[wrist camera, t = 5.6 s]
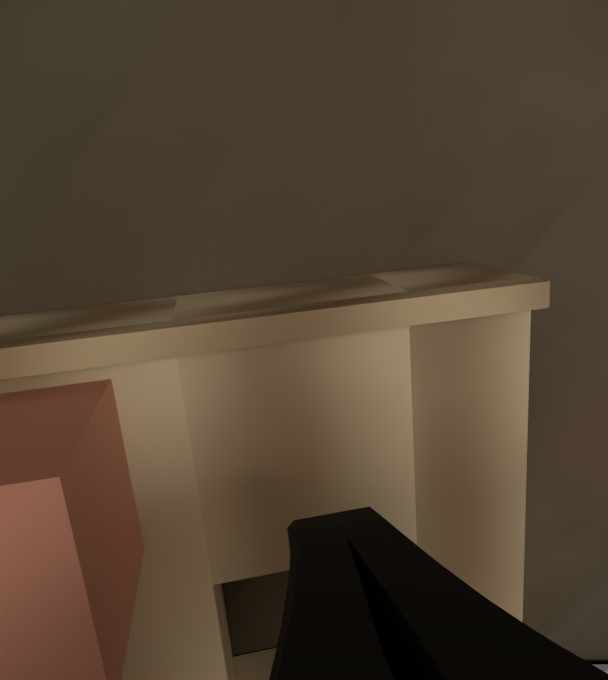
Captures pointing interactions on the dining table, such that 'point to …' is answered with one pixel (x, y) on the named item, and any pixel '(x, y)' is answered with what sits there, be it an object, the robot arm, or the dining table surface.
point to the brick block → (65, 535)
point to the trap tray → (301, 432)
